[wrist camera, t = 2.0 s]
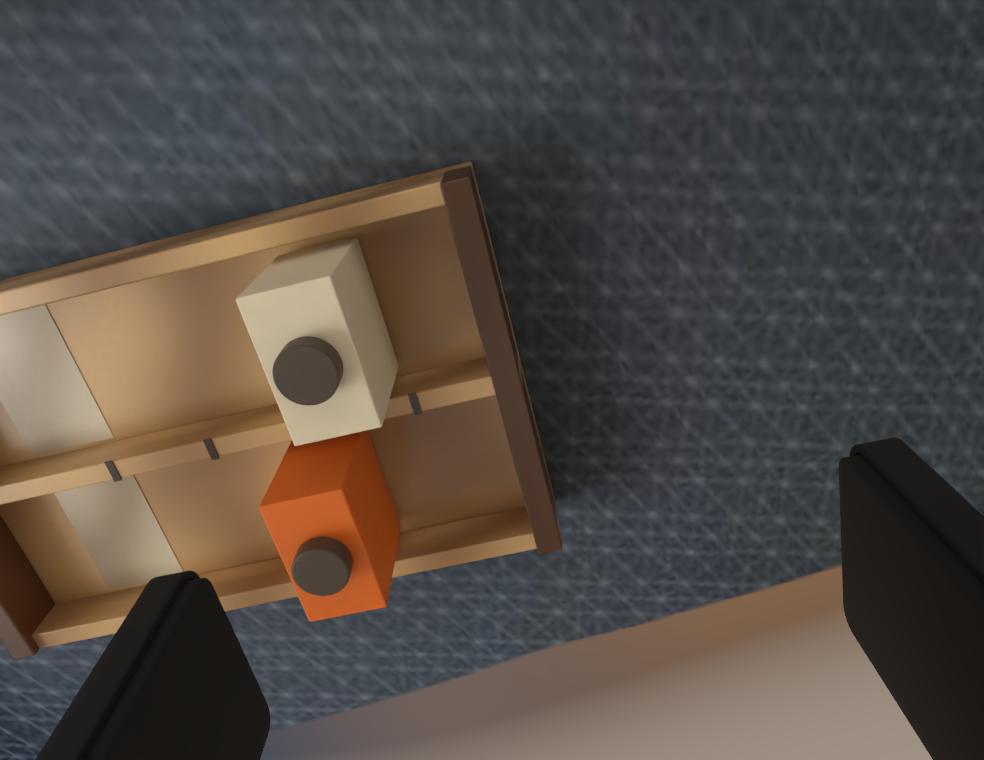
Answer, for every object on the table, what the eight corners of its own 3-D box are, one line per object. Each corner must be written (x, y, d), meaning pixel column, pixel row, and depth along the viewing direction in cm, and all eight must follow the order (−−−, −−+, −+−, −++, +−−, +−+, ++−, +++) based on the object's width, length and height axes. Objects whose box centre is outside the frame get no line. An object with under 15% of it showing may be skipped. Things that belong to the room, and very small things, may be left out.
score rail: (471, 160, 27) (469, 176, 24) (555, 502, 33) (562, 550, 30) (-127, 311, 29) (-200, 344, 26) (55, 605, 35) (14, 660, 32)
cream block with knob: (357, 235, 26) (324, 283, 21) (399, 366, 28) (379, 439, 23) (277, 255, 27) (225, 307, 21) (324, 383, 29) (287, 459, 23)
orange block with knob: (364, 419, 29) (337, 502, 24) (402, 526, 32) (384, 623, 26) (292, 436, 30) (250, 521, 24) (334, 539, 32) (304, 638, 26)
